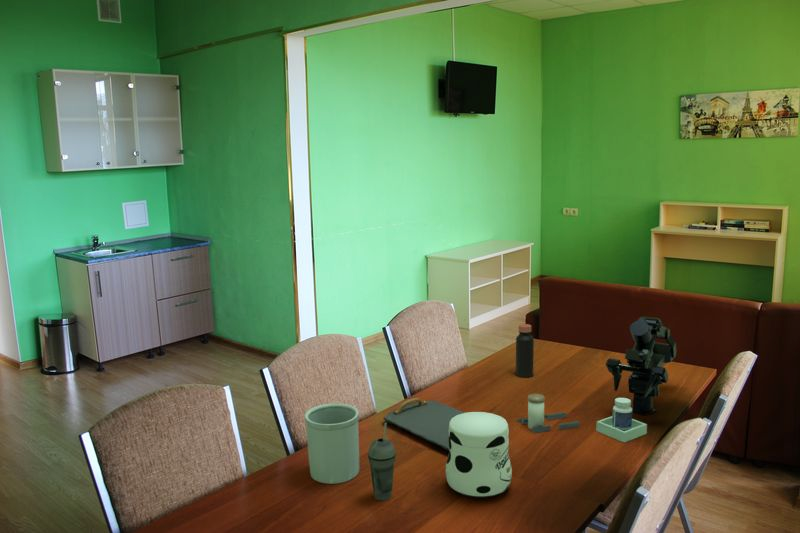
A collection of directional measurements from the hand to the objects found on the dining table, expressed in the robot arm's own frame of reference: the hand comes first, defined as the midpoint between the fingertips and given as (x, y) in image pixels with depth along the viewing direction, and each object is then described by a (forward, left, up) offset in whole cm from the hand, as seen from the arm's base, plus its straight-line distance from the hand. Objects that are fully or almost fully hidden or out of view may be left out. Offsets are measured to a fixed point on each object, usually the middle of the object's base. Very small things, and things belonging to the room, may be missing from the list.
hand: (629, 393), depth 215 cm
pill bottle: (+6, +2, -10) cm, 12 cm away
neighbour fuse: (+25, -16, -10) cm, 31 cm away
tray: (+6, +2, -10) cm, 13 cm away
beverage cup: (+87, -9, -11) cm, 89 cm away
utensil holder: (+91, -28, -11) cm, 96 cm away
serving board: (+50, -33, -11) cm, 61 cm away
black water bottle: (-8, -55, -11) cm, 56 cm away
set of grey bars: (+20, -16, -10) cm, 27 cm away
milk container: (+64, +2, -11) cm, 65 cm away
